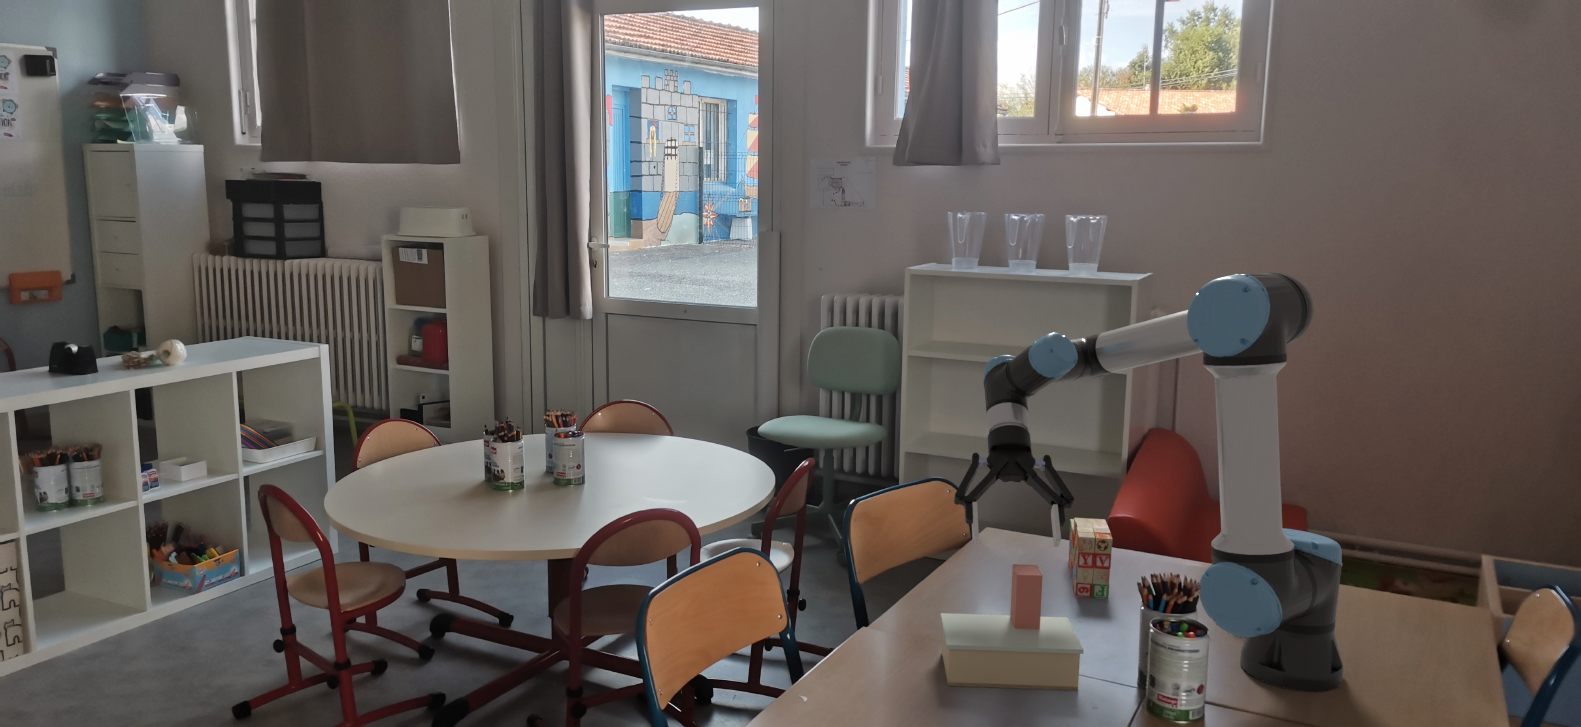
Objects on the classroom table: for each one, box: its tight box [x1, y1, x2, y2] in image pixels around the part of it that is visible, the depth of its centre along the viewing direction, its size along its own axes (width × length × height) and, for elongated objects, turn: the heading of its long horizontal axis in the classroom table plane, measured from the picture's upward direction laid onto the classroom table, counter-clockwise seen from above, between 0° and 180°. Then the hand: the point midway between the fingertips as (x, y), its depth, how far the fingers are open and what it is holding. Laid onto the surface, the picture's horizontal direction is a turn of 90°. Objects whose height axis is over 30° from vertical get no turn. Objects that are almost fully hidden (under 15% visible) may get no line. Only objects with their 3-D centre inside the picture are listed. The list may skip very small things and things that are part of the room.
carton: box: [941, 631, 1081, 691], centre depth 174 cm, size 20×12×6 cm, turn 87°
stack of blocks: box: [1068, 517, 1114, 600], centre depth 216 cm, size 21×6×12 cm, turn 170°
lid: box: [940, 563, 1084, 655], centre depth 172 cm, size 21×13×10 cm, turn 87°
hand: (1016, 541), depth 182 cm, fingers open, 13 cm apart
